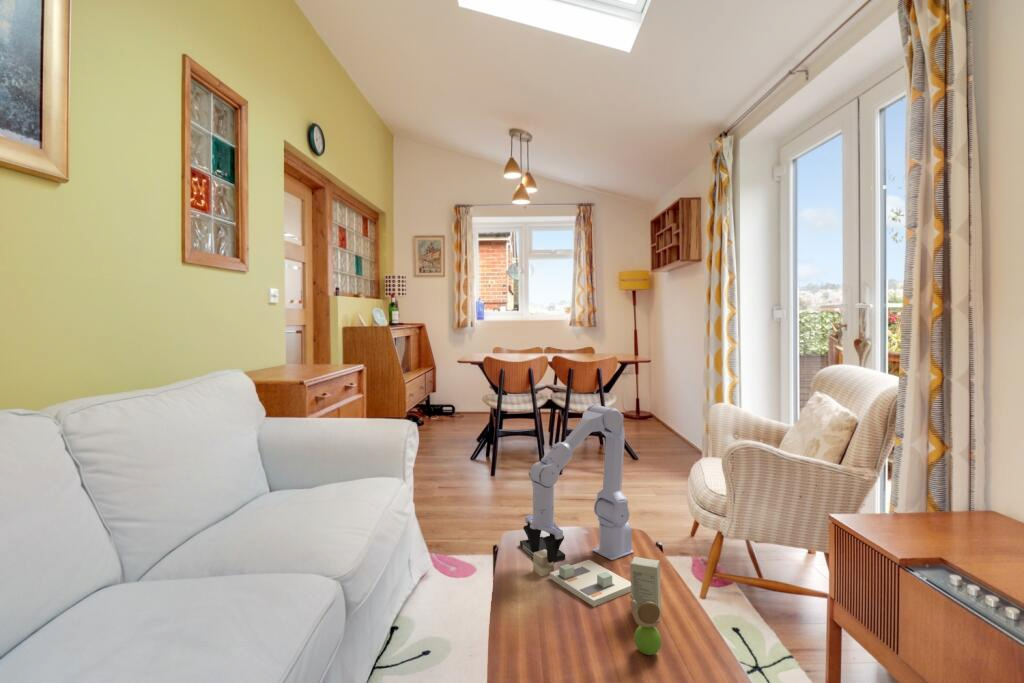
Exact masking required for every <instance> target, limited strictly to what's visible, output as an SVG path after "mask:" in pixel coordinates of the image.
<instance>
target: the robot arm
mask: <svg viewBox="0 0 1024 683" xmlns="http://www.w3.org/2000/svg"><path fill="white" fill-rule="evenodd" d="M595 432H601V433H602V435H604V437H605V447H604V463H603V464H604V466H603V480H602V489H601V490H600V491H598V492H597V493H596V494H597V496H596V500H595V502H594V504H593V511H594V514H595V515H596V516H597V521H598V522H599V523H598V527H599V528H598V529H599V530H598V531H599V534H598V535H599V536H598V540H599V541H598V543H599V544H598V545H599V546H598V547H596V548H593V549H592V551H593V552H595V553H597V554H598V555H600V556H602V557H604V558H607V559H609V561H614V560H617V559H619V558H622V557H625V556H628V555H630V554H633V553H634V552H635V551H634V550H633V544H632V543H633V542H632V541H633V539H632V538H633V536H632V535H633V534H632V533H633V532H632V527H631V524H630V523H629V522H628V521H629V519H630V509H629V506H628V503H629V500H628V498H627V497H626V496H625V494H624V493H623V491H622V489H623V474H624V473H623V472H624V471H623V470H624V456H625V455H624V454H625V453H624V452H625V440H626V438H625V435H626V432H625V426H624V415H623V414H622V412H620V411H619V409H617V408H615V407H609V406H602V405H599V404H591V405H589V406H588V408H587V409H586V410H585V411H583V413H582V418H581V419H580V421H579V422H578V423H577V424H576V426H575V427H574V428H573V430H571V432H570V433H569V434H568V436H567V437H566V439H565V440H564V441H562V442H559V441H557V442H556V443H554V444H553V445H552V446H551V449H550V450H549V452H547V453H546V454H545V456H544V457H542V458H540V459H541V460H540V461H537V462H535V463H534V464H532V466H531V468H530V470H529V472H528V477H529V479H530V481H531V482H532V484H531V485H532V514H527V515H525V516H524V522H525V523H526V525H524V526H523V528H522V529H523V531H524V532H525V535H526V537H527V540H529V544H530V548H531V552H532V553H533V552H537V551H539V544H540V537H541V534H542V532H546V533H547V534H548V535H547V536H542V537H543V539H544V541H545V544H546V549H547V559H548V562H549V563H551V562H554V563H556V562H557V561H556V557H557V553H558V550H560V547H561V545H562V543H563V541H564V540H565V535H564V534H563V533H564V531H563V529H561V528H560V527H558V525H557V524H556V523H555V522H554V521H555V520H554V519H555V517H554V516H555V515H554V513H555V511H554V510H555V509H554V507H555V506H554V505H555V504H554V503H555V501H554V500H555V499H554V498H555V494H554V493H555V492H554V490H555V484H557V482H558V481H559V475H560V473H561V471H562V470H563V469H564V467H565V466H566V465H567V464H568V463H569V462H570V461H571V459H572V458H573V457H574V450H575V449H576V448H577V447H578V446H579V445H580V444H581V443H582V442H583V441H584V440H585V439H586V438H587V437H588V436H589V435H590V434H591V433H595ZM555 561H556V562H555Z"/></svg>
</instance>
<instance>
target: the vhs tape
mask: <svg viewBox="0 0 1024 683" xmlns="http://www.w3.org/2000/svg"><path fill="white" fill-rule="evenodd" d="M543 537H544V536H540V544H539V551H541V550H544V549H545V550H547V549H546V544H545V541H544V539H543ZM519 547H520V548H522V550H523V551H525V552H526V553H527V554H529V556H530V557H532V558H533V553H534V552H533V553H532V552H531V548H530V544H529V540H528V539H524V540H520V541H519ZM537 552H538V551H537ZM565 560H566V554H565V553H564V552H563V551H562V550H561V549H559V550H558V553H557V557H556V561H555V562H554V563H556V562H560V561H565Z"/></svg>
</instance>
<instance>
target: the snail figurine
mask: <svg viewBox="0 0 1024 683" xmlns="http://www.w3.org/2000/svg"><path fill="white" fill-rule="evenodd" d="M629 597H630V602H629V605H630V607H631V615H632V614H633V615H632V616H633V620H634V621H635V623H636V624H637V625H638V627H636V630H635V632H634V634H633V640H634V641H633V642H634V643H635V646H636V648H637V649H638V650H639V651H640V653H641V654H644V655H647V656H653V655H656V654H657V653H658V652H659V651H660V649H661V648H662V643H663V641H662V635H661V633H660V631H659V630H658V629H657V628H656V627H657V626H658V625H659V624H660V621H661V620H660V618H661V615H660V609H659V607H658V605H657V604H655V603H654V602H650V601H648V602H644V603H643V604H641V606H640V607H639V609H638V611H637V607H636V606H637V602H636V601H635V600H631V598H633V596H632V594H631V593H630V594H629ZM659 617H660V618H659ZM658 619H659V620H658Z"/></svg>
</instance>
